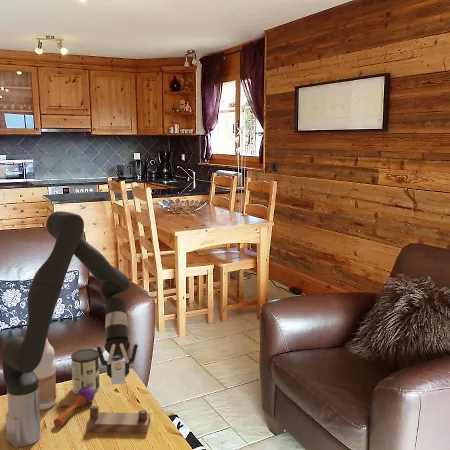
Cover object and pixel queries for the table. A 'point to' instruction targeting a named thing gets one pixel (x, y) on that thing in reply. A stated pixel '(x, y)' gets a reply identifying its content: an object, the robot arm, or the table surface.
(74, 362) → the coffee can
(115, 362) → the lever cap
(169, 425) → the table surface
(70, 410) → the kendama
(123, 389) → the table surface
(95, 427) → the plane body
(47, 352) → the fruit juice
